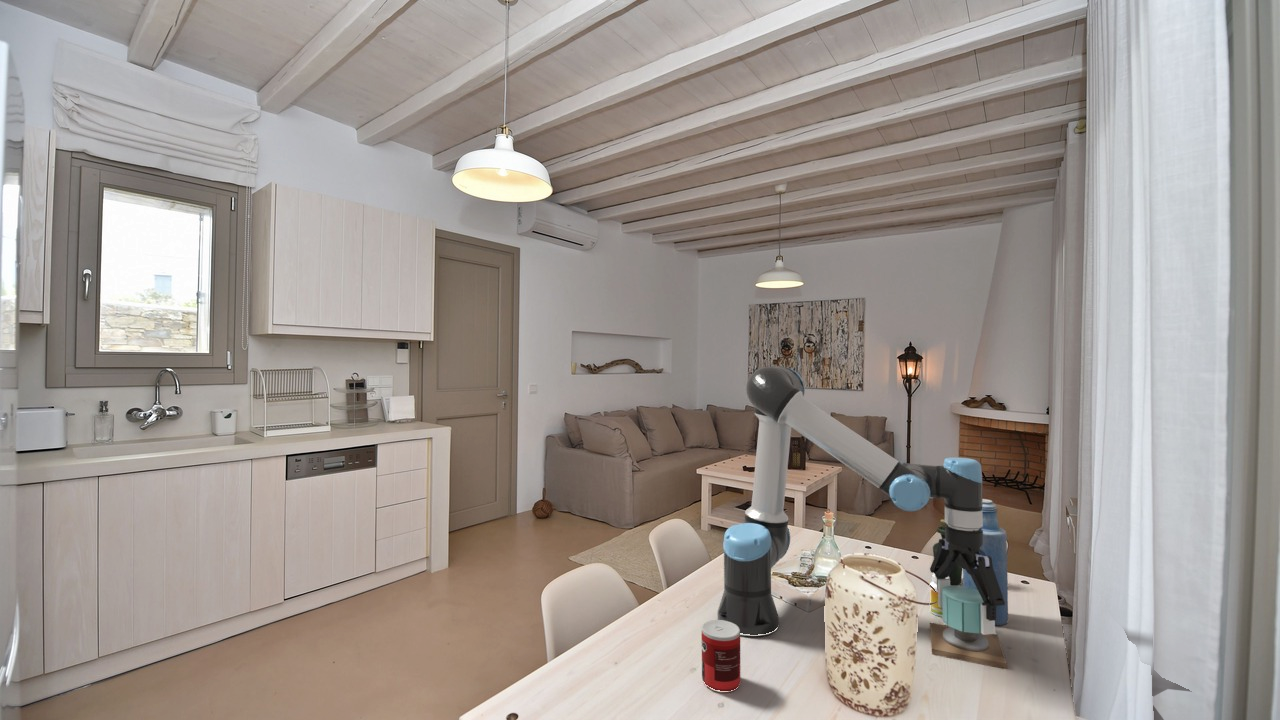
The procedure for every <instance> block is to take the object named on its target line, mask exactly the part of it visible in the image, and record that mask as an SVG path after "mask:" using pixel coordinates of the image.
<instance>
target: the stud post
mask: <svg viewBox="0 0 1280 720" xmlns="http://www.w3.org/2000/svg"><path fill="white" fill-rule="evenodd" d="M929 632H930V633H929V634H930V645H931V646H930V647H931V655H934V656H940V657H945V658H949V659H955V660H959V661H965V662H968V663H969V662H970V663H975V664H978V665H979V664H980V665H984V666H988V667H989V666H990V667H995V668H998V669H999V668H1000V669H1005V670H1008V665H1007V664H1008V663H1007V660H1006V657H1005V654H1004V651H1003V648H1002V645H1001V642H1000V639H999V636H998V634H996V633H995V634H987V635H983V634H982V633H970V632H964V631H959V630H957V629H954V628H952V627H949V626H948V625H946V624H940V623H934V622H929Z"/></svg>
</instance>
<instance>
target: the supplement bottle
mask: <svg viewBox="0 0 1280 720" xmlns="http://www.w3.org/2000/svg"><path fill="white" fill-rule="evenodd" d="M931 576H932V577H931V582H930V583H929V586H930V585H931V586H932V587H933V588H934V589H935V591H936V592H934V590H933V589H932V588H930V587H929V612H930V613H932V615H935V616H936V617H938V618H939V617H940V618H943V612H942V607H941V608H940V607H939V606H938V590H937V578H936V576H935V574H934V573H932V575H931ZM946 579H950V577H949V576H948V577H947V578H946ZM950 586H952V585H950ZM936 601H937V603H936V604H934V605H930V603H934V602H936Z"/></svg>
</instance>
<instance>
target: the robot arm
mask: <svg viewBox="0 0 1280 720" xmlns="http://www.w3.org/2000/svg"><path fill="white" fill-rule="evenodd" d="M745 390H746V395H747V398H748V400H749V402H750V404H751V405H752V406H753V407H754V415H755V417H756V418H757V419H758V421H759V423H758V424H759V425H758V433H757V442H756V443H757V445H756V453H755V454H756V455H755V462H754V463H755V465H754V473H753V474H754V475H753V485H752V487H753V488H752V495H751V497H752V498H751V506H749V507H748V508H747V509H746V510H745V511H744V521H743V522H742V523H741V522H740V523H739V524H733V525H731V526H730V527H728V528H727V529H726V531H725V532H724V534H723V535H724V537H723V543H722V546H723V547H722V548H723V581H724V584H723V586H724V587H723V593H722V596H721V599H720V601H719V602H720V603H719V606H718V609H717V620H724V621H728V622H731V623H734V624H735V625H737V626H738V627H739V629H740V633H743V634H750V635H758V634H766V633H769V632H772V631H774V630H775V629H776V628H777V627H778V625H779V626H780V624H779V623H780V619H779V618H780V617H779V614H778V613H779V612H778V611H777V607H776V604H775V600H774V597H773V595H772V568H773V567H774V566H775V565H776V564H777V563H778V562H779V561H780V560H781V559H783V558H784V556H785V555H786V554H787V553H788V551H789V547H790V545H791V533H790V529H789V527H788V526H789V516H788V515H787V514H786V512H785V511H784V507H785V499H786V497H785V495H786V487H787V478H788V477H787V476H788V467H789V466H788V465H789V455H790V448H791V447H790V445H791V434H792V430H793V429H794V431H796V432H797V433H799V434H800V435H801V436H803V437H805V438H806V439H807V440H809V441H810V442H812V443H813V444H814V445H816V446H817V447H819V448H820V449H822V450H823V451H825V452H826V453H827V454H829V455H830V456H832V457H833V458H835V459H836V460H837V461H839V462H840V463H842V464H843V465H845V466H846V467H847V468H849V469H850V470H852V471H853V472H855V473H856V474H858V475H859V476H860V477H862V478H863V479H865V480H866V481H868V482H869V483H871V484H872V485H874V486H875V487H876V488H878V489H879V490H880V491H882V492H883V493H884V494H886V495H888V496H889V498H890V500H891V501H892V503H893V504H894V505H895V506H896V507H897V508H899V509H901V510H903V511H905V512H916V511H919V510H921V509H922V508H924V507H925V506H926V505H927V504H928V502H929V501H930V498H935V499H944V519H945V523H946V524H947V525H946V526H945V539H942V538H939V539H938V542H939V545H938V549H937V552H936V555H935V557H934V556H933V560H932V562H931V565H930V567H929V572H931V573H932V574H935V576H936V578H937V590H938V606H939V607H940V608H941V607H942V589H943V588H944V587H946V586H950V579H946V578H947V577H948V576H949V574H950V573H951V572H952V571H953V570H954V568H955V567H956V566H961V567H962V570H963V569H965V570H966V571H967V573H968V574H970V575H971V577H972V579H973V581H974V583H975V585H976V587H977V589H978V591H979V593H980V595H981V597H982V600H983V603H981V633H982V634H983V635H987V634H996V626H995V620H996V606H999V605H1005V602H1004V599H1003V596H1002V593H1001V590H1000V587H999V584H998V581H997V578H996V575H995V573H994V570H993V565H992V558H991V557H990V556H981V555H980V552H979V549H980V547H981V546H982V545H983V530H982V529H981V527H982V526H983V520H982V499H983V474H982V473H983V472H982V465H981V463H980V462H979V461H978V460H977V459H974V458H968V457H954V456H953V457H952V456H951V457H946V458H944V460H943V465H928V464H921V463H920V464H918V463H907V462H904V461H903V462H900V461H899V460H897V459H896V458H894V457H893V456H891V455H890V454H888V453H886V452H885V451H884V450H882V449H881V448H880V447H878V446H876V444H875V445H874V443H872V442H870V441H869V440H868V439H866V438H865V437H863V436H861V435H860V434H858V433H857V432H855V431H854V430H852V429H851V428H849V427H848V426H846V425H845V424H843V423H842V422H841V421H839V420H838V419H836V418H834V417H833V416H831V415H830V414H828V413H827V412H826V411H824V410H822V409H821V408H819V407H818V406H817V405H815V404H813V403H812V402H811V401H809V400H808V399H806V398H804V397H805V393H806V387H805V383H804V379H803V378H802V377H801V375H800V374H799V373H798V372H797V371H795V370H794V369H792V368H790V367H787V366H781V365H780V366H779V365H777V366H776V365H775V366H763V367H761V368H758V369H756V370H755V371H753V373H751V375H750V376H749V378H748V380H747V381H746V389H745ZM949 553H950V554H949ZM937 566H938V567H937ZM975 567H977V568H975ZM974 568H975V569H974ZM988 597H989V599H988ZM778 628H779V627H778Z"/></svg>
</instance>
